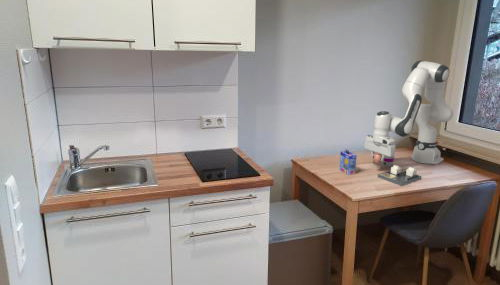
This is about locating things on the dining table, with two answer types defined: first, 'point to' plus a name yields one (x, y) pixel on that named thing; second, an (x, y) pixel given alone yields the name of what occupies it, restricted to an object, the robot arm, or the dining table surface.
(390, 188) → the dining table surface
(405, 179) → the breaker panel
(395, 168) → the toggle
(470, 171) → the dining table surface
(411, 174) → the toggle
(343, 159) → the ink cartridge box
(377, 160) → the cap
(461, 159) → the dining table surface
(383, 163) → the supplement can
